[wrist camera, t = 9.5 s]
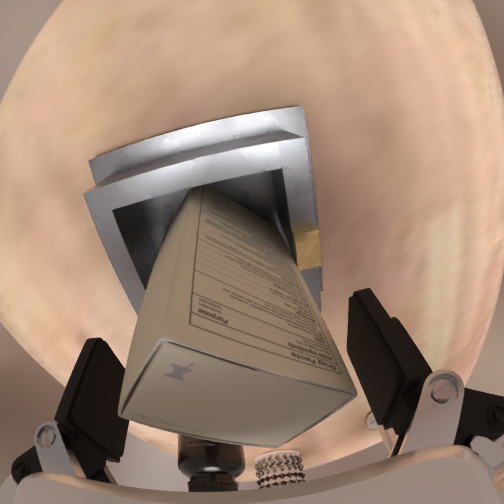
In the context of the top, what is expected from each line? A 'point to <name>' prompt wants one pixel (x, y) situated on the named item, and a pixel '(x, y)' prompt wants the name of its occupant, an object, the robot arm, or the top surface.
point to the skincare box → (230, 334)
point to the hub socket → (214, 176)
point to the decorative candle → (279, 468)
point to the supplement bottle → (210, 464)
